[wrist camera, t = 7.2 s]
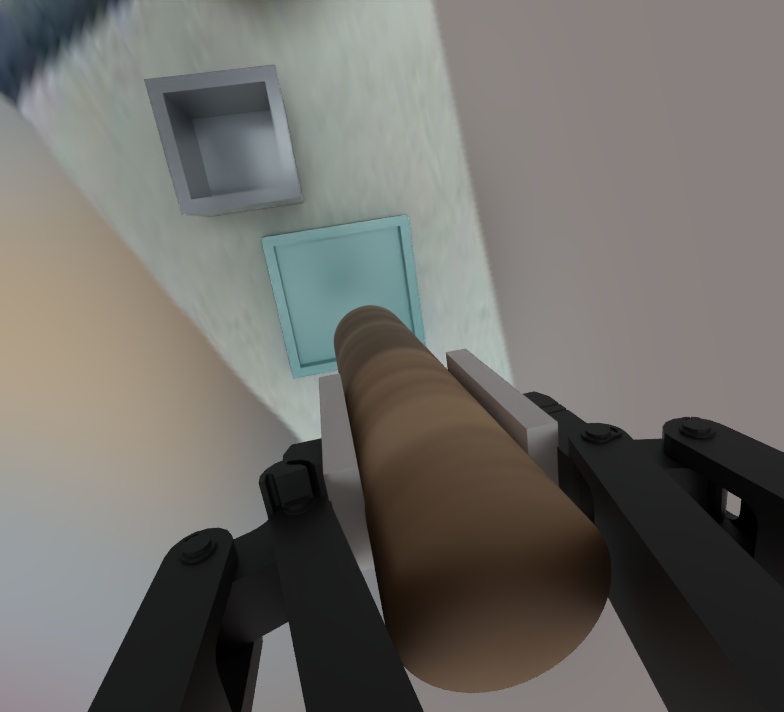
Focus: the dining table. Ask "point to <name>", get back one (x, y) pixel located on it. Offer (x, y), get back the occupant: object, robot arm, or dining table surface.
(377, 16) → the dining table surface
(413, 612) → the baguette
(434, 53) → the dining table surface
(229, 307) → the dining table surface
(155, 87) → the open box
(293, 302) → the tray
